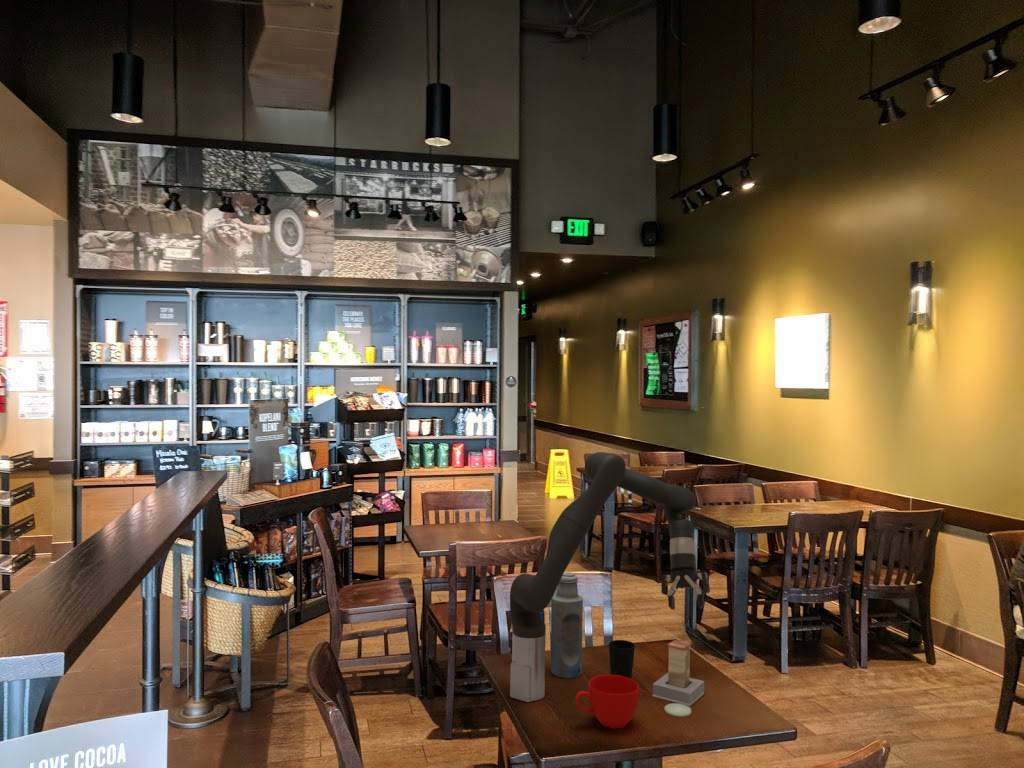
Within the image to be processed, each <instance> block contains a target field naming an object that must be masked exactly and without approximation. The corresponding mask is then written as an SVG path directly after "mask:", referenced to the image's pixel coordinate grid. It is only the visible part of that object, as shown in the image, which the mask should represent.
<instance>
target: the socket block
mask: <svg viewBox="0 0 1024 768" xmlns="http://www.w3.org/2000/svg"><path fill="white" fill-rule="evenodd" d="M704 694H705V681H704V680H701V679H697V678H692V677H689V686H687V687H686V688H685V689H684V688H680V687H677V686H673V685H669V684H668V672H667V673H665V674H664V675H662V677H660V678H659V679H657V680H656V681H655V682H654V683H652V697H653V698H658V699H662V700H665V701H669V702H672V703H676V704H683V705H686V706H688V707H691V706H692V705H693V704H694V703H695V702H697V701H698V700H699V699H700V698H701V697H702V696H703V695H704Z"/></svg>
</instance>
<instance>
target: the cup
mask: <svg viewBox="0 0 1024 768" xmlns="http://www.w3.org/2000/svg"><path fill="white" fill-rule="evenodd" d="M635 649H636V645H635V643H634V642H632V641H630V640H625V639H614V640H611V641H609V642H608V655H609V669H610V675H619V676H624V677H627V678H630V679H632V678H633V668H634V659H635V651H636V650H635ZM632 680H633V679H632Z"/></svg>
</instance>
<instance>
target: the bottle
mask: <svg viewBox="0 0 1024 768" xmlns="http://www.w3.org/2000/svg"><path fill="white" fill-rule="evenodd" d="M578 581H579V579H578V576H577V575H576V574H575V573H573V572H570V571H569V572H568V571H564V573H563V575H562V578H561V580H560V582H559V584H558V586H557V588H556V593H554V595H553V597H552V599H551V601H550V603H551V605H550V606H551V611H550V616H551V617H550V664H549V665H550V667H549V669H550V670H549V671H550V673H551V674H552V675H553V676H556V677H559V678H563V677H564V679H568V678H570V679H571V678H572V679H573V678H577V677H579V676H580V675H581V674H582V673H583V672H582V671H583V669H582V668H583V664H582V663H583V611H584V609H583V608H584V607H583V605H584V597H583V596H582V595H580V594H579V589H578Z"/></svg>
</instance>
